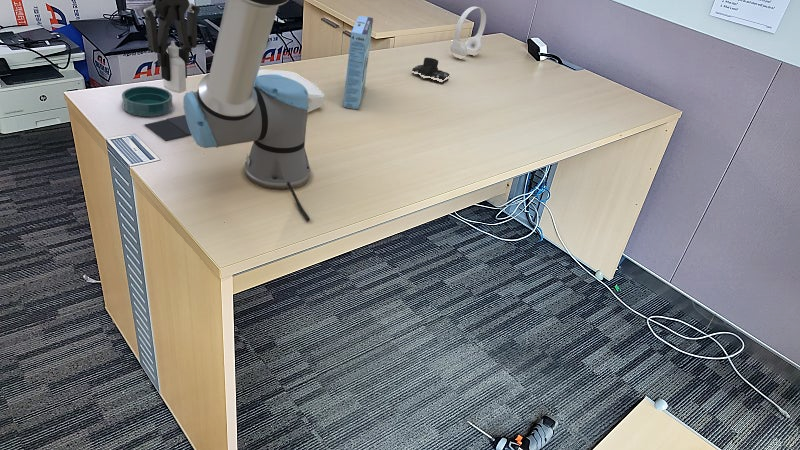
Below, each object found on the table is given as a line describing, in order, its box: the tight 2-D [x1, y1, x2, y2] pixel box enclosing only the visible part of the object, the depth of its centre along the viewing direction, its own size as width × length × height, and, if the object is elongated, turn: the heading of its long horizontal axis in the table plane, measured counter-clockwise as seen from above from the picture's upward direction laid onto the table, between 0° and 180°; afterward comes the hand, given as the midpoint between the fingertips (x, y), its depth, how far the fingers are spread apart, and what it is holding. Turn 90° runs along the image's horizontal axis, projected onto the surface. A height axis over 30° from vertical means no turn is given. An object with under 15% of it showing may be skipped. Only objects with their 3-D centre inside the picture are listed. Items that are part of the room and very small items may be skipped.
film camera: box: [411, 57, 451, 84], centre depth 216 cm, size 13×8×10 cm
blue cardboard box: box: [342, 15, 374, 110], centre depth 185 cm, size 20×5×23 cm, turn 177°
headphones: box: [449, 6, 487, 57], centre depth 239 cm, size 7×18×20 cm, turn 141°
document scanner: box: [254, 68, 325, 114], centre depth 173 cm, size 21×28×6 cm
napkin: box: [144, 114, 192, 142], centre depth 154 cm, size 10×12×1 cm
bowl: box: [121, 85, 174, 117], centre depth 160 cm, size 12×12×4 cm
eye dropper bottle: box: [162, 40, 187, 94], centre depth 146 cm, size 4×6×12 cm
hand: (174, 77), depth 147 cm, fingers closed on eye dropper bottle, 4 cm apart
